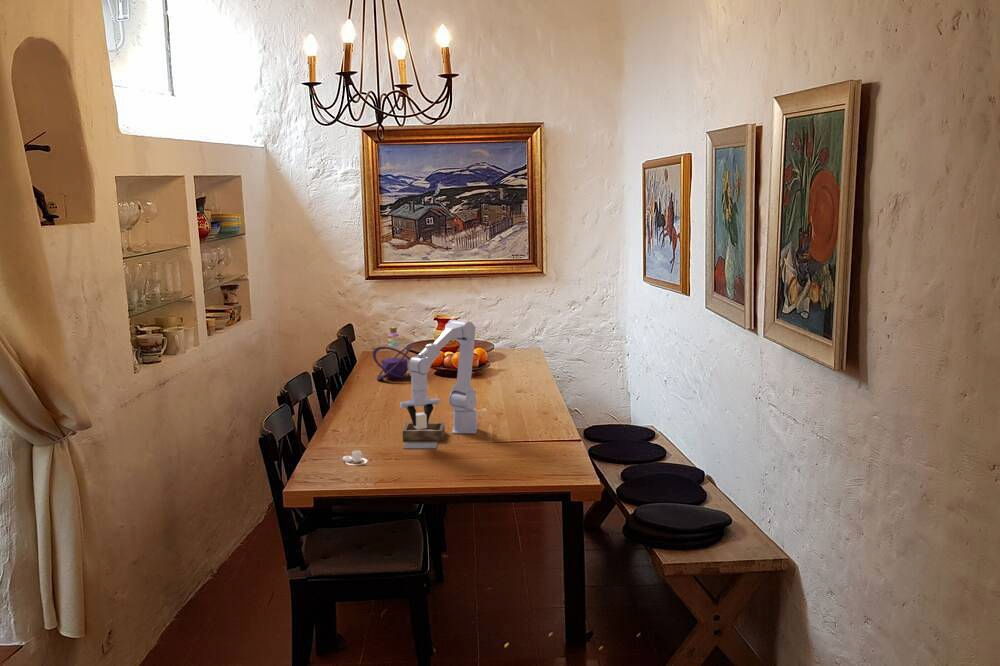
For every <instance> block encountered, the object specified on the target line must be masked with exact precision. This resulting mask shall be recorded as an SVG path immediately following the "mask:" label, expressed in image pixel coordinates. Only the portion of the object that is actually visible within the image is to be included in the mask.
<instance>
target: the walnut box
mask: <svg viewBox="0 0 1000 666" xmlns="http://www.w3.org/2000/svg"><path fill="white" fill-rule="evenodd" d="M445 424H446V423H445V422H428V425H427V428H423V429H416V428H415V427H414V426H413V423H412V422H405V424H404V427H403V429H402V441H403V442H443V439H444V436H445V434H446V429H445V428H446V427H445Z"/></svg>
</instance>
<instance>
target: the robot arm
mask: <svg viewBox="0 0 1000 666" xmlns="http://www.w3.org/2000/svg"><path fill="white" fill-rule="evenodd" d="M475 337H476V326H475V324H474V323H473V322H472V321H469V320H468V321H466V320H458V319H454V318H453V319H450V320H448V322H447V323H446V324H445V325H444V330H443V331H442V332H441V334H440V335H439V336H438V337H437V338H436V339H435V341H434V342H433V343H428V344H426V345H425V347H424V348H423V349H422V350H421V351H420V352H419V353H418V354H417V355H416V356H412V357H411V358H410V360H409V359H408V362H407V363H408V365H407V367H408V372H409V375H411V378H410V379H411V400H410V399H409V400H405V401H400V402H399V407H400V409H407V412H408V413H409V416H410V419H411V423H413V426H416V413H417V410H416V408H415V407H423V412H424V413H425V414H426V415H427V425H428V423H429V421H430V417H431V414H432V412H433V410H434V405H437V406H439V405H440V398H428V374H427V373H428V372H429V371H430V370H431V366H432V364H433V362H434V361H435V360H436V359H437V358H438V357H439V356H440V355H441V349H442V348H444V347H445V346H446V345H447V344H449V342H451V341H452V340H453V339H455V340H456V341H457V342H458V344H459V355H458V366H457V373H456V375H457V376H456V384H455V385H454V386H452V387H451V389H450V394H449V395H448V396H449V397H448V403H449V405H450V406H451V409H453V427H452V432H451V433H452V434H477V433H478V428H479V422H478V409H477V408H475V406H476V404H477V396H476V390H475V389H474V388H473V387H472V385H471V383H472V382H471V381H472V372H473V363H474V362H473V360H474V352H475V341H476V340H475V339H476V338H475Z"/></svg>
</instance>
